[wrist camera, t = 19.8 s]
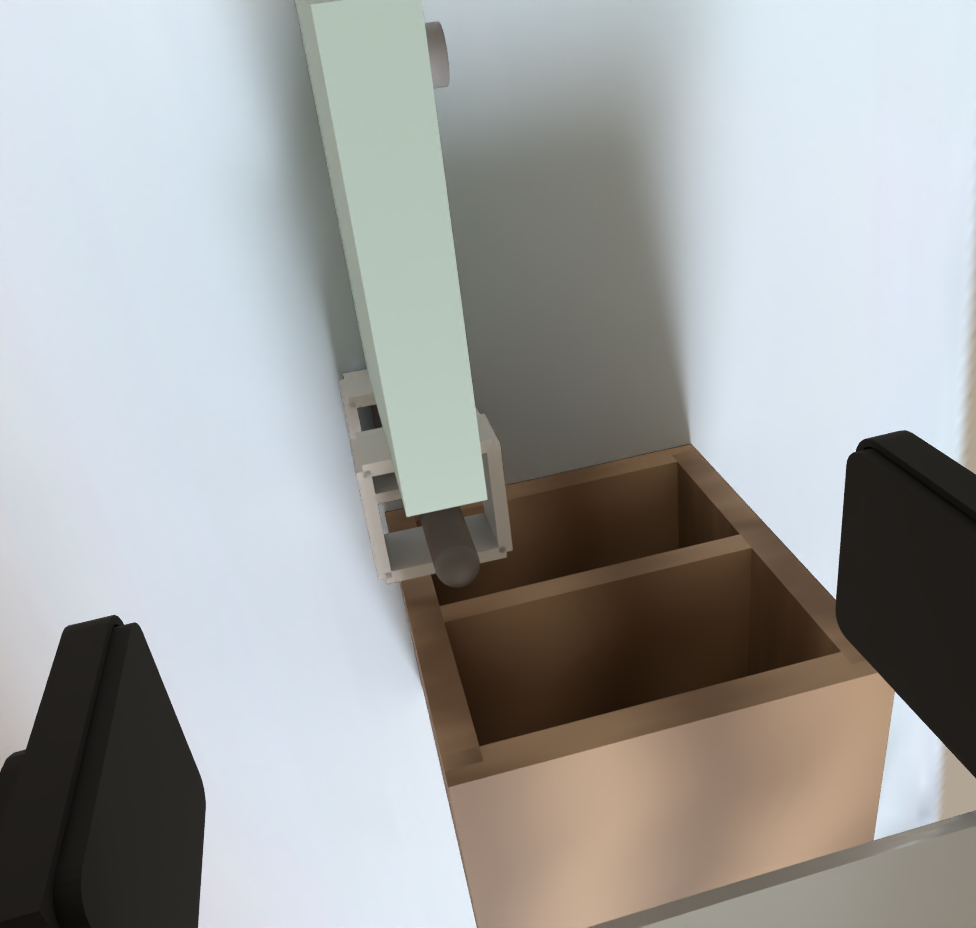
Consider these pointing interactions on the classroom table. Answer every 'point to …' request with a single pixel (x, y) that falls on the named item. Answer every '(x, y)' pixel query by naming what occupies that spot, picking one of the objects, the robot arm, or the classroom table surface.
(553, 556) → the cabinet
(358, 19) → the door
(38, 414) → the classroom table surface
